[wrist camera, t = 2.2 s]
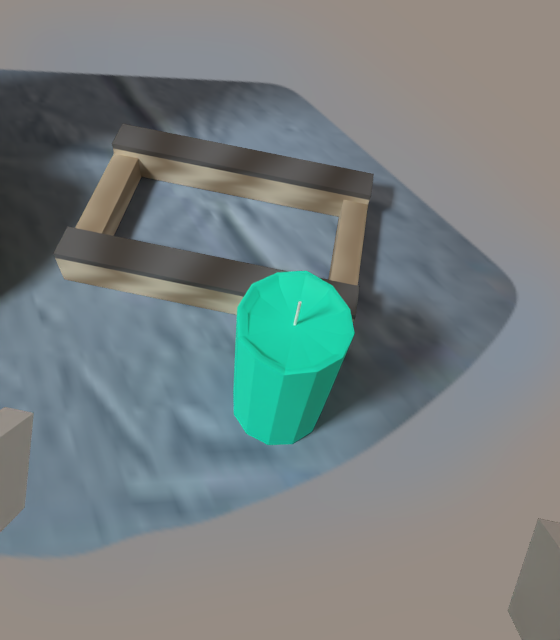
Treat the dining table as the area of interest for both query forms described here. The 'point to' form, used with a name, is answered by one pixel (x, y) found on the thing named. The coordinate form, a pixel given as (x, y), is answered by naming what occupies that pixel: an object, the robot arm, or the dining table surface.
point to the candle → (288, 354)
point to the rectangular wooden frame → (219, 176)
